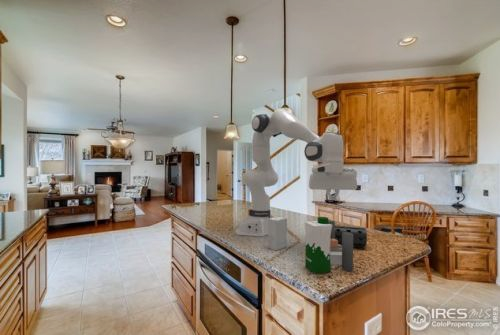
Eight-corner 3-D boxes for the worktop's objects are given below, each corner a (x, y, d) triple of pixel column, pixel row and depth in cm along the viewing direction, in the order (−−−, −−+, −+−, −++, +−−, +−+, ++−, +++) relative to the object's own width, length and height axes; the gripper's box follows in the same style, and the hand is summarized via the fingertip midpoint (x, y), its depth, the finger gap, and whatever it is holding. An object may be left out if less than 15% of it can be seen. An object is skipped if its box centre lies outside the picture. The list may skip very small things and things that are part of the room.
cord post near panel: (327, 251, 112) (327, 222, 112) (324, 249, 116) (325, 220, 116) (335, 252, 112) (336, 222, 112) (333, 249, 116) (333, 220, 116)
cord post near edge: (344, 271, 90) (344, 234, 90) (340, 267, 94) (340, 232, 94) (354, 271, 90) (354, 235, 90) (350, 267, 94) (350, 232, 94)
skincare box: (278, 244, 122) (278, 215, 122) (287, 247, 117) (287, 217, 118) (266, 248, 116) (267, 217, 117) (275, 251, 112) (276, 219, 112)
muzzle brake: (366, 251, 114) (367, 229, 114) (307, 245, 122) (307, 225, 122) (363, 245, 123) (363, 225, 123) (308, 240, 131) (308, 221, 132)
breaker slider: (330, 250, 102) (331, 240, 102) (328, 247, 105) (328, 238, 105) (337, 250, 101) (338, 240, 102) (335, 247, 104) (335, 238, 105)
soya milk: (334, 273, 89) (334, 219, 89) (312, 275, 87) (312, 220, 87) (322, 264, 97) (322, 215, 97) (301, 265, 95) (302, 216, 95)
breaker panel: (324, 264, 97) (324, 250, 97) (316, 252, 111) (316, 240, 111) (351, 265, 96) (352, 251, 96) (340, 253, 110) (340, 241, 110)
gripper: (353, 168, 107) (353, 199, 106) (308, 168, 107) (308, 198, 107) (359, 168, 100) (359, 201, 100) (311, 168, 101) (311, 200, 101)
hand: (332, 200), depth 103 cm, fingers closed
